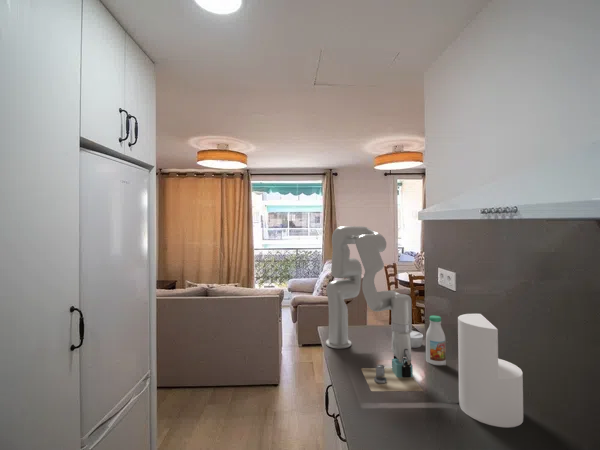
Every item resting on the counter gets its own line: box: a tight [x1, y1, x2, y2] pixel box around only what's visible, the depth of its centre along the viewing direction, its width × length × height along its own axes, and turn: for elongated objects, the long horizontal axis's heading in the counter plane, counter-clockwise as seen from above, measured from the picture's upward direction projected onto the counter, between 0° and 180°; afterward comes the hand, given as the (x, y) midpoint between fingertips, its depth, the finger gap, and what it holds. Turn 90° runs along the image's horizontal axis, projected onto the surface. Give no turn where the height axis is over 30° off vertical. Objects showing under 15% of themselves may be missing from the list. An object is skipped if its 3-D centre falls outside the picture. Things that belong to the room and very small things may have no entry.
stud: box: [374, 364, 387, 384], centre depth 116 cm, size 4×4×6 cm
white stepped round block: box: [457, 313, 524, 428], centre depth 100 cm, size 17×17×28 cm
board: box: [360, 367, 424, 392], centre depth 118 cm, size 18×18×1 cm
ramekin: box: [410, 330, 424, 349], centre depth 156 cm, size 11×11×5 cm
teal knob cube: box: [391, 358, 414, 378], centre depth 122 cm, size 6×6×5 cm
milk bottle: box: [425, 315, 447, 366], centre depth 133 cm, size 8×8×20 cm
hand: (402, 371), depth 122 cm, fingers open, 9 cm apart
